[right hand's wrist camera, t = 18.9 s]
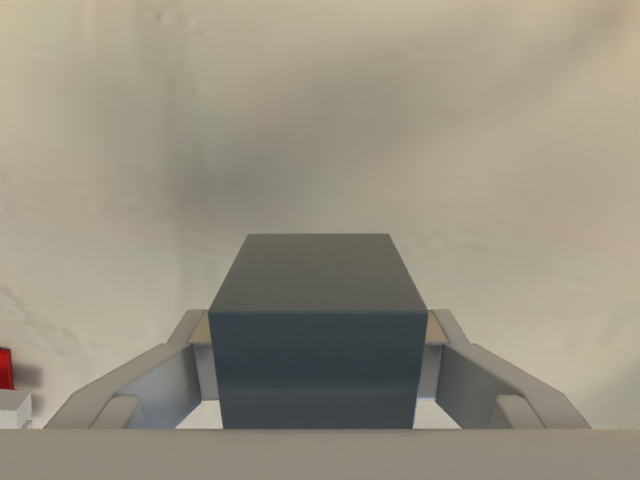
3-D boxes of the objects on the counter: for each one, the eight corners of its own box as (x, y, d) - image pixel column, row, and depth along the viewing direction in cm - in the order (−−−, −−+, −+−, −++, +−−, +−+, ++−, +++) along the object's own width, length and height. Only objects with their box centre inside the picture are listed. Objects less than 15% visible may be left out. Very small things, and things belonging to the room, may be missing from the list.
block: (257, 353, 13) (228, 473, 9) (247, 232, 11) (205, 312, 7) (380, 353, 13) (408, 473, 9) (389, 232, 11) (430, 312, 7)
